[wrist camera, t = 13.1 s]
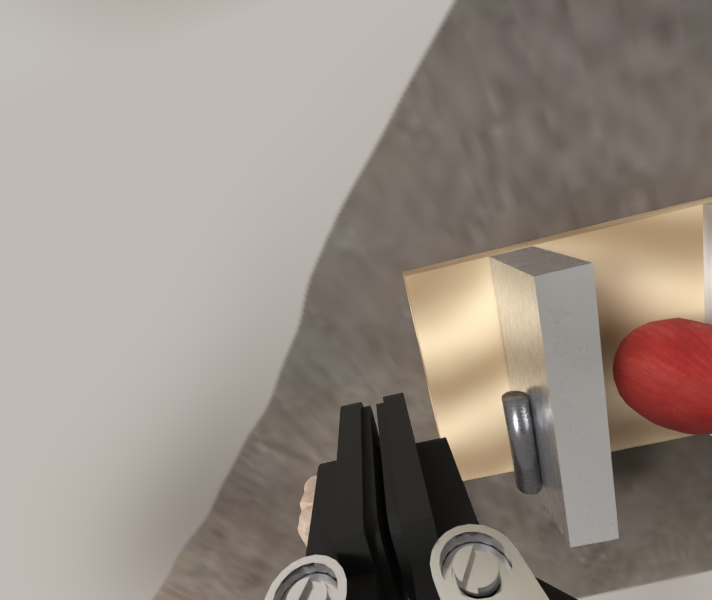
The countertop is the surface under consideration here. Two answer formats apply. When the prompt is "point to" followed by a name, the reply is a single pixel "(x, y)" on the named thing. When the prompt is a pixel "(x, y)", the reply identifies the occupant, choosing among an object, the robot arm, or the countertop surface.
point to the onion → (668, 374)
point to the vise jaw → (556, 389)
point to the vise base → (615, 315)
